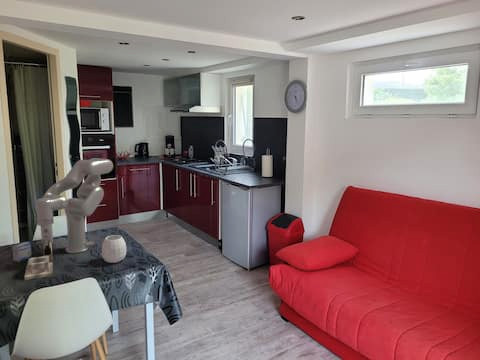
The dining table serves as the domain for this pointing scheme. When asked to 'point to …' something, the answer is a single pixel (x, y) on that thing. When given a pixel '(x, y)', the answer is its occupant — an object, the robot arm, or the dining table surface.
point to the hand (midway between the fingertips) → (48, 252)
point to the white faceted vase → (113, 249)
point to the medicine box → (21, 251)
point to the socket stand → (38, 268)
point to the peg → (51, 253)
